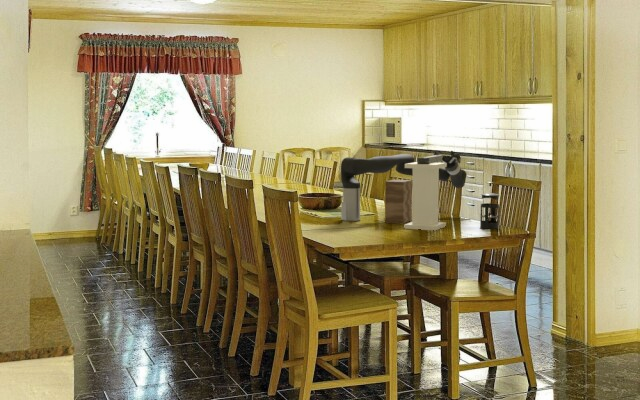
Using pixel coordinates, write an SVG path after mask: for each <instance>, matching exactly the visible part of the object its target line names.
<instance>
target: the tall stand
mask: <svg viewBox="0 0 640 400" xmlns="http://www.w3.org/2000/svg"><path fill="white" fill-rule="evenodd" d="M445 167H447V163H442V162H438V163H437V162H434V163H430V164H417V161H414V162H413V163H407V164H405V168H413V169H412V170H413V176H412V221H410V222H407V223H404V224H403V225H404V226H403V229H404V228H405V229H404V230H418V229H421V230H420V231H433V230H434V232H435V231H437V230H440V228H441V229H443V228H445V226H446V225H447V223H446V222H445V221H444V222H442V221H441V222H440V221H439V191H440V190H439V187H440V186H439V185H440V184H439V183H440V182H439V181H440V180H439V168H445Z"/></svg>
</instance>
